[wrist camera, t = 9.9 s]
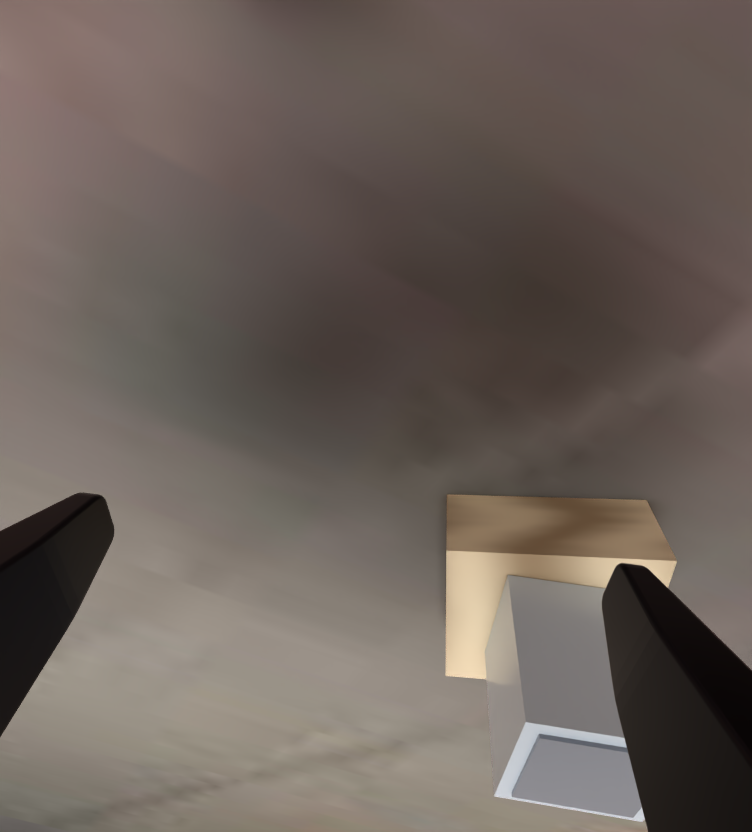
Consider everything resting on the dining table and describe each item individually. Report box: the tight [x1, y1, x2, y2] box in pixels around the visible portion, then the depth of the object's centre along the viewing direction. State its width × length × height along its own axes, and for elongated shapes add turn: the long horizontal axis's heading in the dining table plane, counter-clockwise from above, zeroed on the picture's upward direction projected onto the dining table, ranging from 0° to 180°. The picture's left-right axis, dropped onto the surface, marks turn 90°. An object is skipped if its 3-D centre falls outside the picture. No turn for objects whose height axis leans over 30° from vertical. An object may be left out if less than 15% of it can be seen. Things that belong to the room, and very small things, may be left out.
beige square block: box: [446, 494, 677, 679], centre depth 24 cm, size 9×9×4 cm
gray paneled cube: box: [485, 575, 645, 822], centre depth 20 cm, size 6×6×6 cm
